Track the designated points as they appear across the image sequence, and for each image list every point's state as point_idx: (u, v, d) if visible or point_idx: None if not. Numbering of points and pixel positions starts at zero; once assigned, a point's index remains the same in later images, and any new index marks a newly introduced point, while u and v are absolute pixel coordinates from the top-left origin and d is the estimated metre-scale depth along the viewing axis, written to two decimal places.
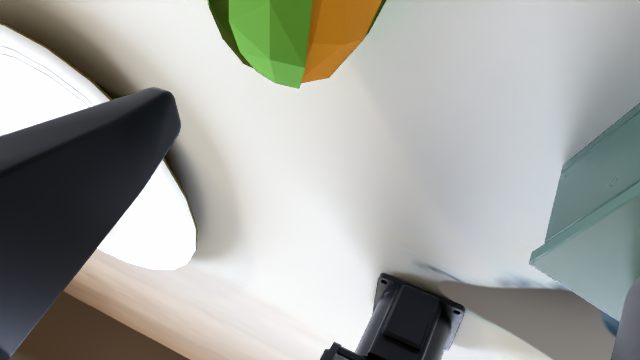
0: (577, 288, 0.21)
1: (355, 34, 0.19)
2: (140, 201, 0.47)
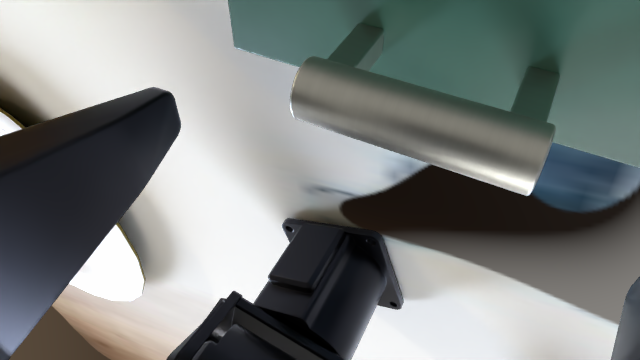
0: (297, 56, 0.14)
1: None
2: None
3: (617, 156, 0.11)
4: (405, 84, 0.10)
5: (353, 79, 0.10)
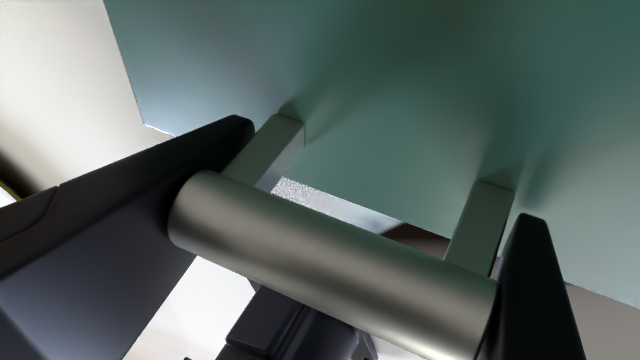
0: None
1: None
2: None
3: (590, 286, 0.09)
4: (308, 219, 0.07)
5: (243, 210, 0.08)
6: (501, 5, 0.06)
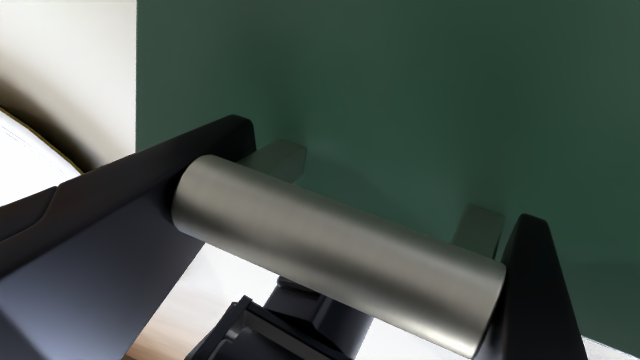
0: None
1: None
2: None
3: None
4: (321, 196, 0.08)
5: (256, 183, 0.08)
6: (502, 30, 0.08)
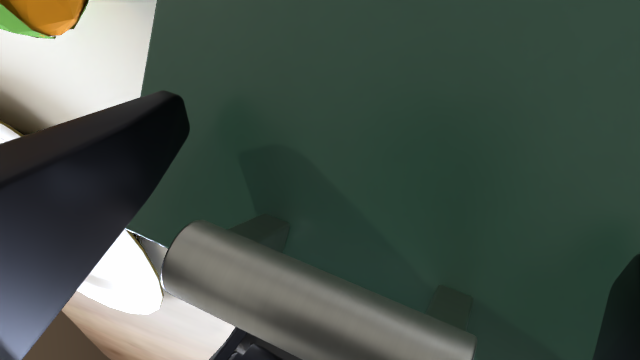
0: None
1: None
2: None
3: None
4: (305, 264, 0.08)
5: (247, 247, 0.08)
6: (472, 129, 0.09)
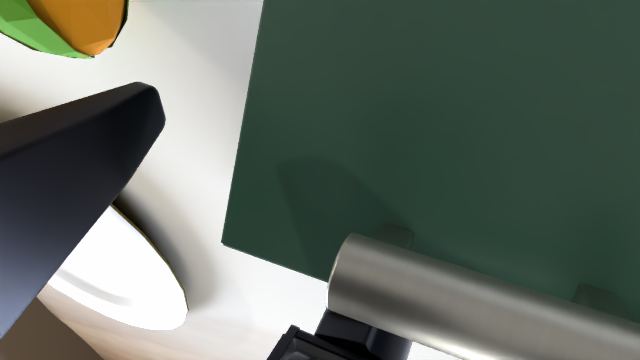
0: (299, 258, 0.12)
1: None
2: (127, 258, 0.48)
3: None
4: (474, 270, 0.08)
5: (413, 258, 0.08)
6: (610, 126, 0.09)
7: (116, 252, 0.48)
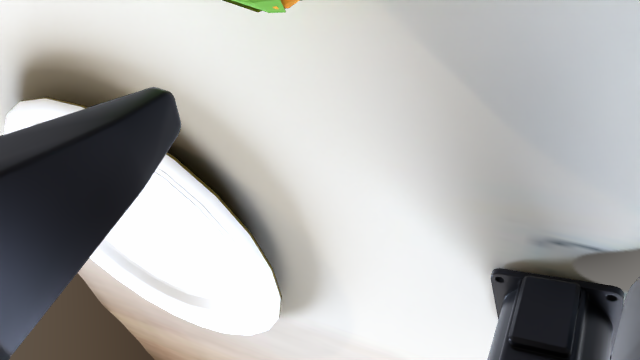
0: None
1: None
2: (215, 257, 0.43)
3: None
4: None
5: None
6: None
7: (204, 249, 0.43)
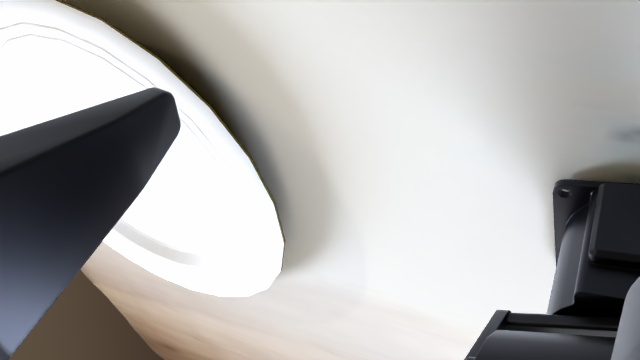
0: None
1: None
2: (208, 198, 0.37)
3: None
4: None
5: None
6: None
7: (195, 189, 0.37)
